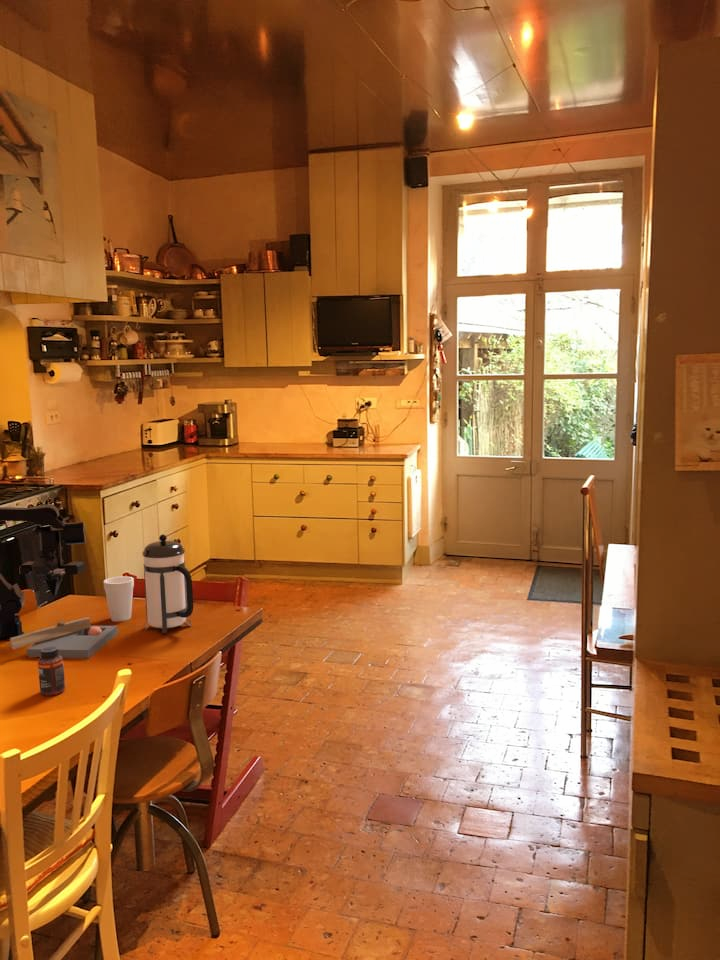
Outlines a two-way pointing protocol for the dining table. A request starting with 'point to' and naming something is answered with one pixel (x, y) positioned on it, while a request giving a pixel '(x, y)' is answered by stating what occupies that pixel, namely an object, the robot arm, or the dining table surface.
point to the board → (76, 643)
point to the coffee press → (167, 585)
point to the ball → (94, 631)
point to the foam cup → (119, 597)
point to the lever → (49, 632)
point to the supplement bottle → (51, 672)
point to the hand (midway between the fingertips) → (54, 594)
